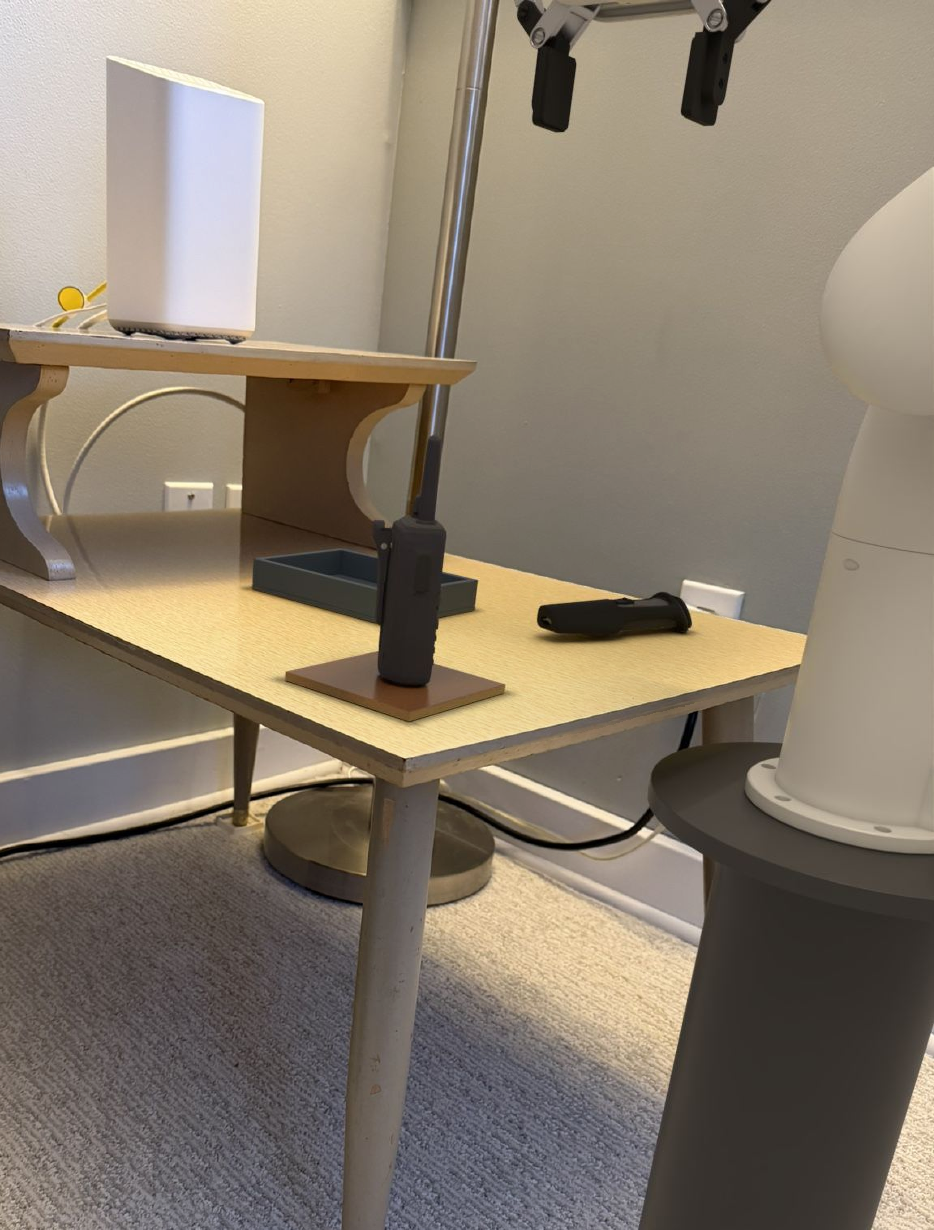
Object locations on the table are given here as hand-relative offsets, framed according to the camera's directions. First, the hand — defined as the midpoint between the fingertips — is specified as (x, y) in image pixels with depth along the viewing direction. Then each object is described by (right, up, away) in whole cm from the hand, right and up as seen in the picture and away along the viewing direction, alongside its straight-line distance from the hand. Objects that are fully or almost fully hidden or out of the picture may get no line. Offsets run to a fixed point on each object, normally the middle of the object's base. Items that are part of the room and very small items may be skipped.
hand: (620, 124), depth 68 cm
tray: (-15, -23, +30) cm, 41 cm away
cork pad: (-13, -32, +6) cm, 35 cm away
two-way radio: (-13, -32, +6) cm, 35 cm away
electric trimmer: (+5, -27, +25) cm, 37 cm away
